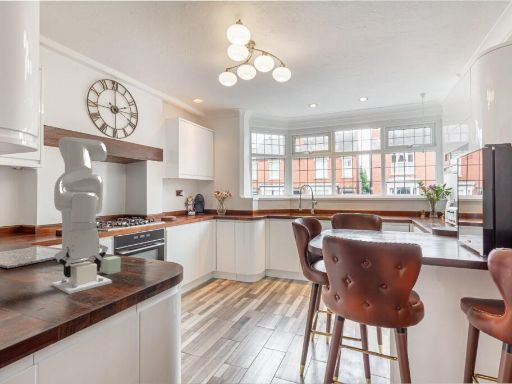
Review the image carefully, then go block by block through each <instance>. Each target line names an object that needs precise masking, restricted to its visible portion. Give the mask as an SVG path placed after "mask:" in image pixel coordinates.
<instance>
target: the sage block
mask: <svg viewBox="0 0 512 384" xmlns="http://www.w3.org/2000/svg"><path fill="white" fill-rule="evenodd" d="M121 260H122V257H120V256H118V255H117V256H116V255H113V256H108V257H107V256H106V257H103V258H102V273H103V274H106V275H113V274H117V273H120V272H121V266H122V264H121V263H122V262H121Z"/></svg>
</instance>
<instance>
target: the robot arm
mask: <svg viewBox="0 0 512 384" xmlns="http://www.w3.org/2000/svg"><path fill="white" fill-rule="evenodd" d="M58 149H59V152H60V155H61V157H62V159H63V164H64V172H63V173H62V174H61V175H60V176H59V177H58V178H57V180H56V182H55V183H54V191H53V192H54V193H53V194H54V195H53V198H54V199H53V200H54V201H53V203H54V204H53V205H54V208H55V209H56V211H59V212H60V213H61V220H62V221H61V229H62V230H61V250H60V251H59V252H56V253H55V254H54V257H55V259H56V260H57V263H59V264H60V265H62V266H63V275H64V277H65V278H67V279H69V277H71V266H70V265H71V264H73V263H74V264H78V263H83V262H87V261H88V260H89V259H90V258H94V260H93V263H94V264H97V272H100V271H101V266H102V265H101V263H102V261H103V258H105V256H106V255H107V252H108V250H109V246H106V245H103V244H100V236H99V232H98V229H97V226H100V222H99V221H97V220H96V219H97V218H96V216H97V215H99V214H101V212H102V210H103V196H104V195H103V194H104V192H103V191H104V182H103V177H102V176H100V174H99V175H98V174H94V173H93V162H105V160H106V159H107V157H108V156H107V155H108V151H107V146H106V144H105V143H104V142H103V141H101V140H99V139H92V138H91V139H90V138H81V137H73V136H66V137H65V136H64V137H60V138H59V140H58ZM64 189H65V191H64Z"/></svg>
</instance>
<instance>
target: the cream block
mask: <svg viewBox="0 0 512 384" xmlns="http://www.w3.org/2000/svg"><path fill="white" fill-rule="evenodd" d="M70 266H71V277H69V278H68V279H69V282H70V283H73V284H78V285H81V284H85V283H89V282H93V281H97V275H98V271H97V264H94V262H91V261H83V262H77V263H74V264H73V263H72V264H70Z"/></svg>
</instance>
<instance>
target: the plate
mask: <svg viewBox="0 0 512 384" xmlns="http://www.w3.org/2000/svg"><path fill="white" fill-rule="evenodd" d="M110 284H113V279H110V278H107V277H104V276H102V275H99V274H97V281H93V282H89V283H85V284H81V285H78V284H73V283H70V282H69V278H65V279H61V280H58V281H53V282H52V283H51V286H53V287H55V288H56V289H58V290H61V291H62V292H64V293H66V294H68V295H70V294H74V293H78V292H81V291H82V292H83V291H86V290H90V289H93V288H97V287H98V288H99V287H101V286H105V285H110Z"/></svg>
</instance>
